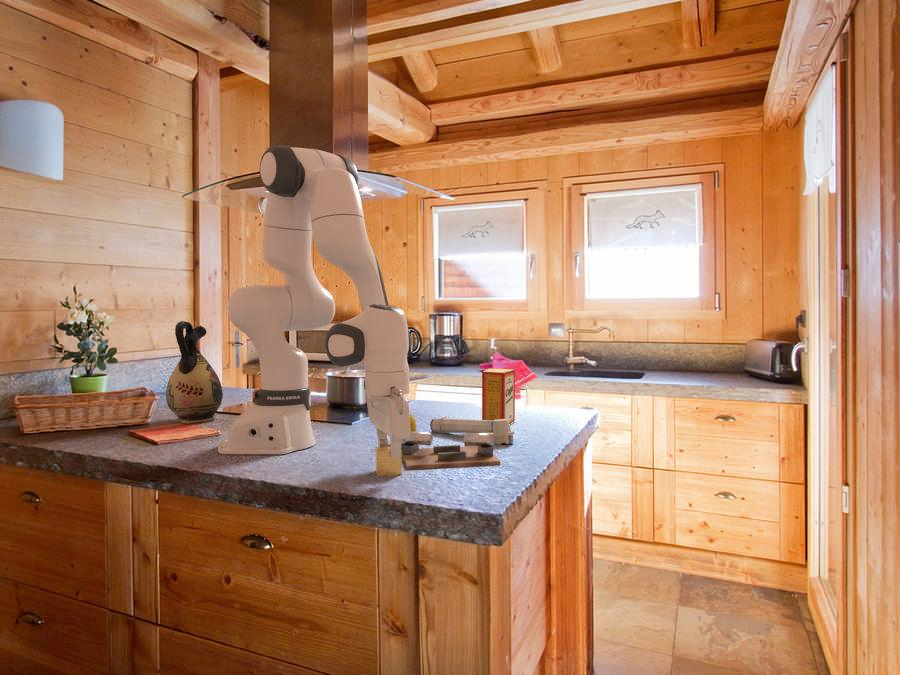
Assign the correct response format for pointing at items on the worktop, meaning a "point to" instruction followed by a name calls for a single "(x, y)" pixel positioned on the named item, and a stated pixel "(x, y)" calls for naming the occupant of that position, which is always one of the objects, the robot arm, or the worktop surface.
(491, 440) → the shaft
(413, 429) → the lemon
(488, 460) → the shaft bench
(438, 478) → the worktop surface
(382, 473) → the coupling block
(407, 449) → the shaft
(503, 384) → the baking soda box
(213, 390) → the ceramic jug
